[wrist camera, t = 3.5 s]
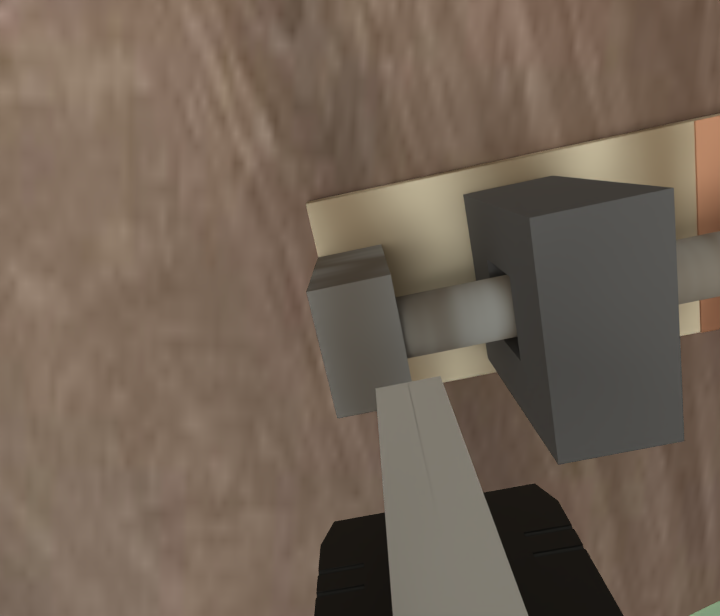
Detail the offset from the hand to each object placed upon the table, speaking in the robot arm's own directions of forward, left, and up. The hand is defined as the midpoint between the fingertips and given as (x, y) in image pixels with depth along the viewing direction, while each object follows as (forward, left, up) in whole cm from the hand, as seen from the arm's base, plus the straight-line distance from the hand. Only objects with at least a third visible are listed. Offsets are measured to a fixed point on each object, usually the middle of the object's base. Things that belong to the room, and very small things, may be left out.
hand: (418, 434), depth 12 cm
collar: (+6, 0, -13) cm, 14 cm away
